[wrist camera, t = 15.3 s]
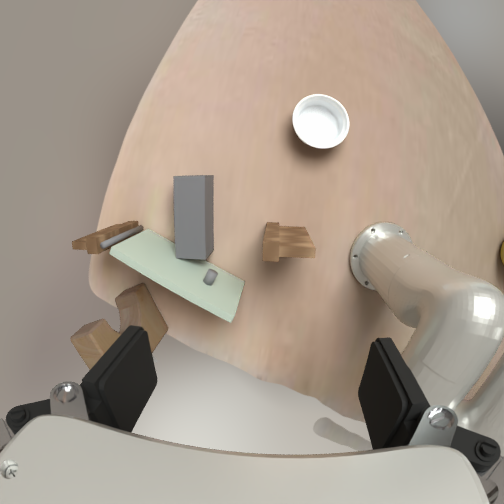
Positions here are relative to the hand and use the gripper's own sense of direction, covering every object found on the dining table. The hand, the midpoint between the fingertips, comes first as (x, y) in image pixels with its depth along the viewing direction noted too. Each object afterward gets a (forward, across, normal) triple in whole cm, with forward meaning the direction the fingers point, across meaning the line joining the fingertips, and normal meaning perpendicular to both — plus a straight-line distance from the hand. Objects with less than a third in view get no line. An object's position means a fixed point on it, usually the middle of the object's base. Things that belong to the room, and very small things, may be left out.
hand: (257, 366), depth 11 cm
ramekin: (+39, -7, -16) cm, 42 cm away
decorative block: (+38, +25, +19) cm, 50 cm away
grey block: (+38, +13, -1) cm, 41 cm away
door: (+38, +14, +6) cm, 41 cm away
